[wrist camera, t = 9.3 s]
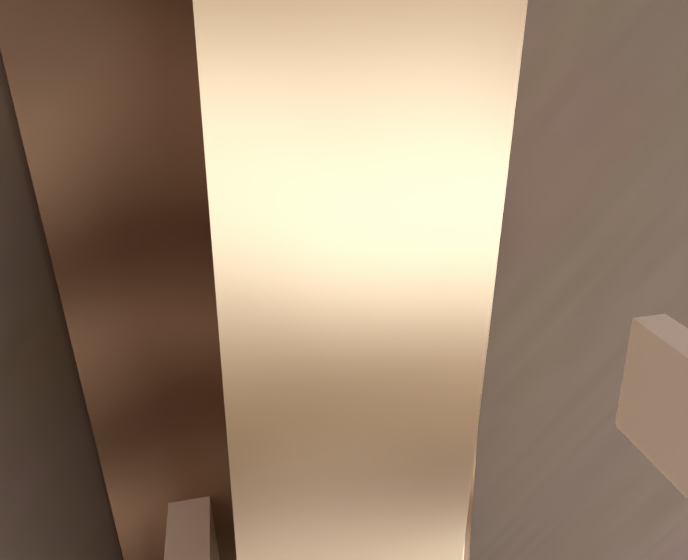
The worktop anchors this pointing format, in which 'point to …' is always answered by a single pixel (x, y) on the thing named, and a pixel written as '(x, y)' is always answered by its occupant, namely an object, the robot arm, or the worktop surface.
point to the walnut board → (131, 245)
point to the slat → (355, 261)
